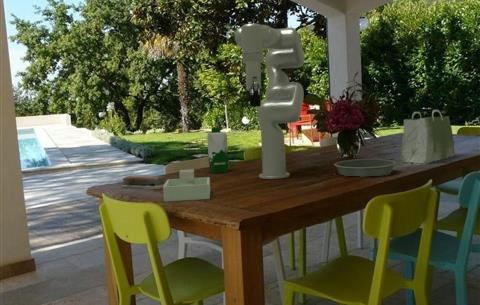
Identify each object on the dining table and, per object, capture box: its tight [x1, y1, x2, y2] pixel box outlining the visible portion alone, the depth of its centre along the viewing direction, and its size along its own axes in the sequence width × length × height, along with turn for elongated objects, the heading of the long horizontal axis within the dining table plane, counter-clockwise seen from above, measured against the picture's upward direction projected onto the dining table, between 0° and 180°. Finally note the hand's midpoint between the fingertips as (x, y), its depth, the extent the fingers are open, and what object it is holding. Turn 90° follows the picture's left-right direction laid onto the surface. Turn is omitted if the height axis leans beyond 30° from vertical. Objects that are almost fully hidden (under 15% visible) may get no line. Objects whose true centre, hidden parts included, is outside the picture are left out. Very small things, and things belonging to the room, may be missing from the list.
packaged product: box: [120, 174, 166, 190], centre depth 212 cm, size 18×5×10 cm
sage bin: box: [162, 176, 211, 202], centre depth 189 cm, size 16×16×5 cm
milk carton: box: [206, 127, 229, 175], centre depth 240 cm, size 9×9×20 cm
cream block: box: [178, 169, 196, 186], centre depth 188 cm, size 5×5×8 cm
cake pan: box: [333, 158, 397, 178], centre depth 218 cm, size 25×25×4 cm
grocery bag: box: [397, 109, 455, 164], centre depth 245 cm, size 32×14×23 cm, turn 136°
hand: (255, 106), depth 194 cm, fingers open, 9 cm apart
